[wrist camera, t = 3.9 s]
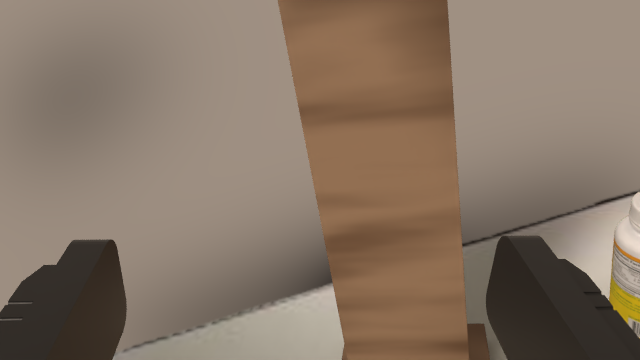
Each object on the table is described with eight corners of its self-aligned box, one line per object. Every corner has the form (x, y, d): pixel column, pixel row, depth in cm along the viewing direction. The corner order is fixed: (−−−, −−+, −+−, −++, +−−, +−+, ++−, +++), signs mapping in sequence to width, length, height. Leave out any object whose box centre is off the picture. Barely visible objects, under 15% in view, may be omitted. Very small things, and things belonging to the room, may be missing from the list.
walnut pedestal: (510, 500, 28) (497, -230, 15) (327, 491, 31) (164, -152, 17) (484, 339, 39) (462, -175, 25) (350, 341, 41) (261, -131, 27)
